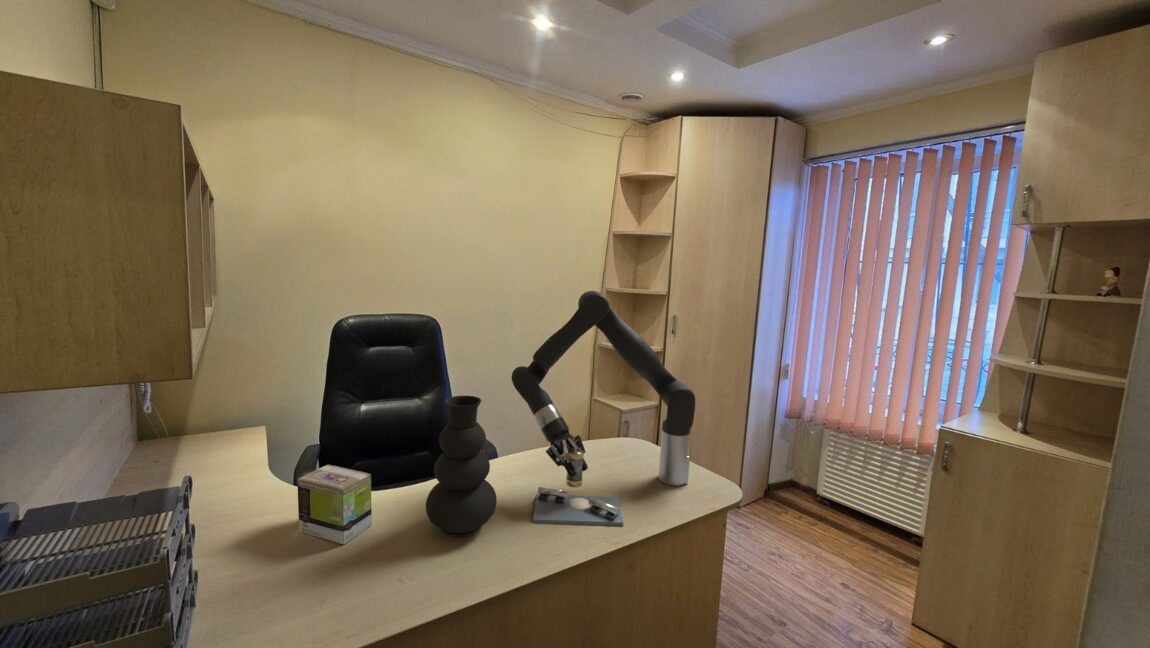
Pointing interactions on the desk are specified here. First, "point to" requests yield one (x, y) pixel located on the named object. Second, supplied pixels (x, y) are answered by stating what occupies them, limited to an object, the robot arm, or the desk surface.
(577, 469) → the banded tin drum
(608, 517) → the shaft
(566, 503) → the board
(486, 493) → the vase
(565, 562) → the desk surface
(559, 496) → the shaft
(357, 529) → the tea box
